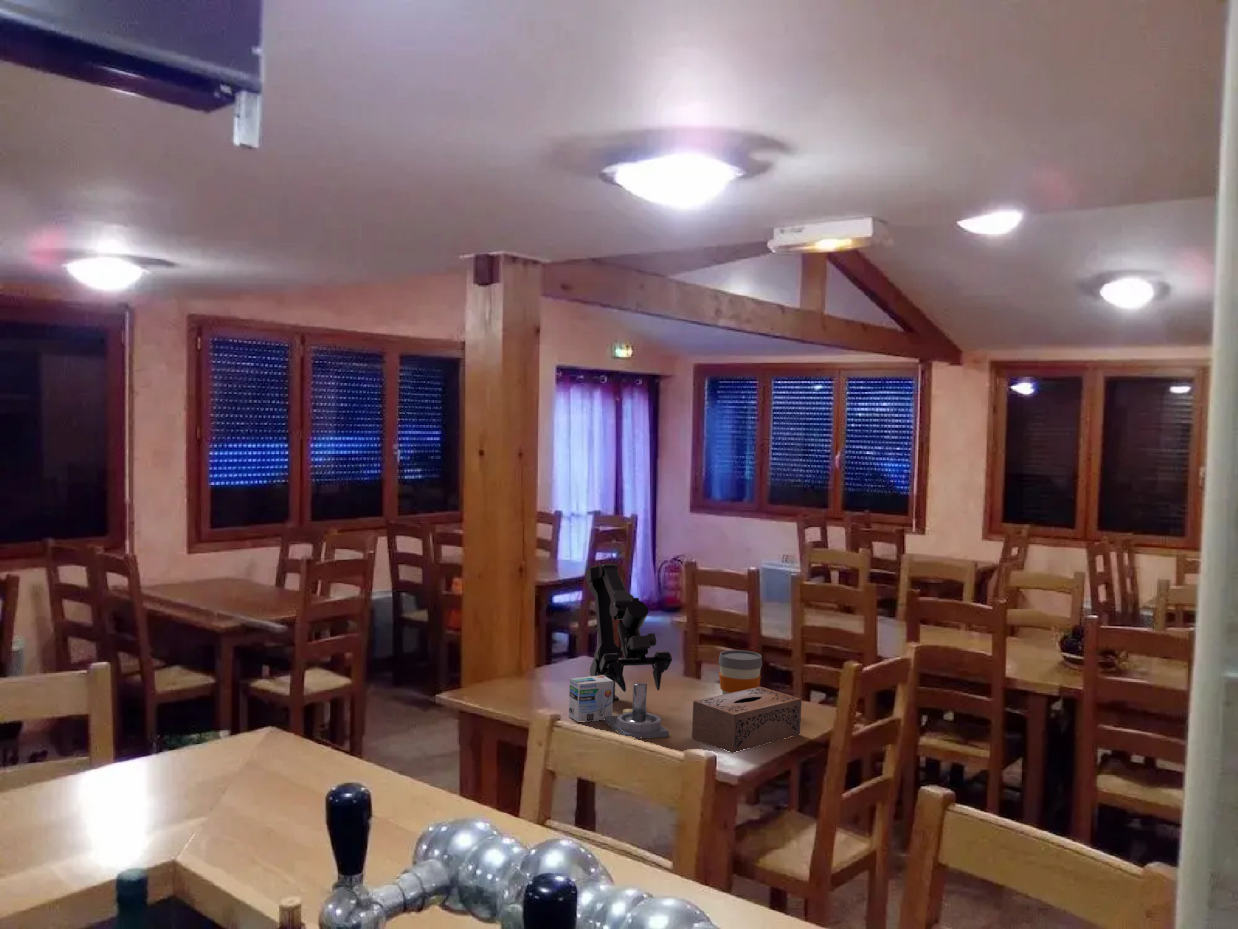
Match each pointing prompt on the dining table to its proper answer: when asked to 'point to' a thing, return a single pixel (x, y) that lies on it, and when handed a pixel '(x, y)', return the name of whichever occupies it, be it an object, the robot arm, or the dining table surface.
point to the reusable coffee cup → (739, 670)
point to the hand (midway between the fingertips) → (641, 690)
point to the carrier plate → (634, 734)
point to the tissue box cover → (746, 718)
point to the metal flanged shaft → (639, 704)
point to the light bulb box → (590, 698)
